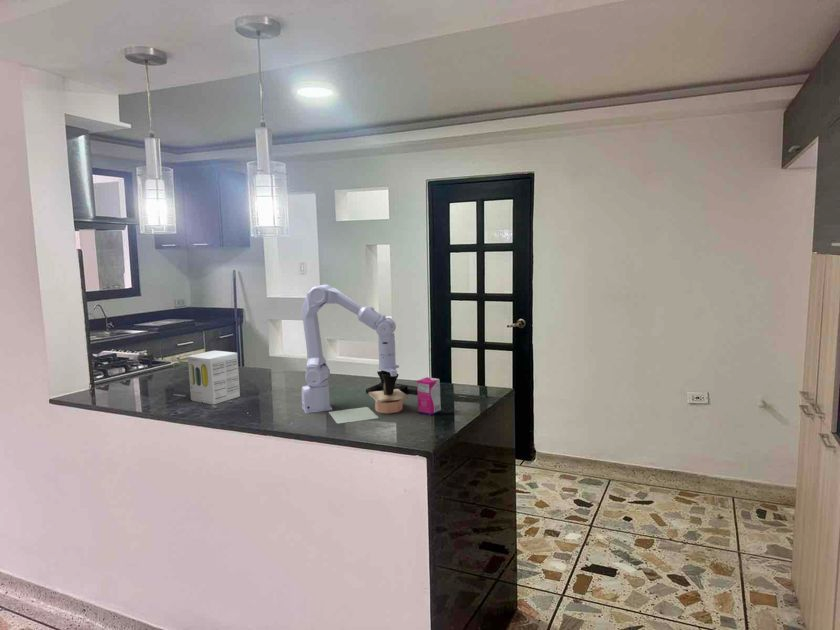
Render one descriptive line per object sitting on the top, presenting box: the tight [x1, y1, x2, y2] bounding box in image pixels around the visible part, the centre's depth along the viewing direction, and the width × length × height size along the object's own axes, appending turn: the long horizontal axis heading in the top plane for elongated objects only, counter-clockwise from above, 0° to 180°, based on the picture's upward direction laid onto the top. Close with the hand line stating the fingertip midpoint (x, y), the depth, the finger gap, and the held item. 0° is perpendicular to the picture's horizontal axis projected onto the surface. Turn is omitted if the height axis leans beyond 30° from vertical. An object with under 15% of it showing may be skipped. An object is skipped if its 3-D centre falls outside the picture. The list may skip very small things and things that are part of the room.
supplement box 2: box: [416, 376, 442, 416], centre depth 190 cm, size 6×6×12 cm
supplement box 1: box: [187, 350, 241, 405], centre depth 214 cm, size 13×13×18 cm
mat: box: [328, 406, 379, 424], centre depth 188 cm, size 14×14×1 cm
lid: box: [368, 383, 409, 402], centre depth 193 cm, size 11×11×5 cm
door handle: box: [365, 381, 418, 395], centre depth 215 cm, size 3×20×16 cm
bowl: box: [374, 399, 404, 414], centre depth 194 cm, size 9×9×4 cm
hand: (388, 392), depth 193 cm, fingers closed on lid, 3 cm apart
